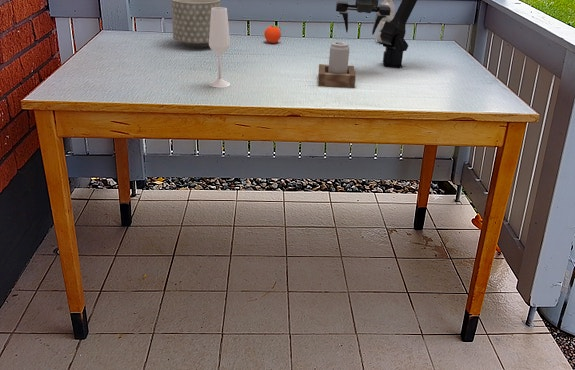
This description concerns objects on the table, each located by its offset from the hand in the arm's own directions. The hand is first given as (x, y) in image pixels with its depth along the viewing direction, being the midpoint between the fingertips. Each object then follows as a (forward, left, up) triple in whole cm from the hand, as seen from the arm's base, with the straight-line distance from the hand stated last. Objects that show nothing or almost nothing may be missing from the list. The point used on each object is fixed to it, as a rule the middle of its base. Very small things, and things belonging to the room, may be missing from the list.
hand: (359, 33), depth 203 cm
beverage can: (+8, +17, -12) cm, 22 cm away
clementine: (+33, -34, -13) cm, 49 cm away
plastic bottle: (-14, -44, -13) cm, 48 cm away
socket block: (+8, +17, -13) cm, 22 cm away
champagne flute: (+46, +27, -13) cm, 55 cm away
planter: (+63, -23, -13) cm, 68 cm away
